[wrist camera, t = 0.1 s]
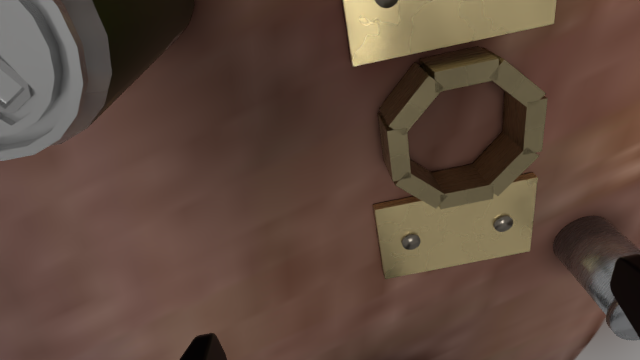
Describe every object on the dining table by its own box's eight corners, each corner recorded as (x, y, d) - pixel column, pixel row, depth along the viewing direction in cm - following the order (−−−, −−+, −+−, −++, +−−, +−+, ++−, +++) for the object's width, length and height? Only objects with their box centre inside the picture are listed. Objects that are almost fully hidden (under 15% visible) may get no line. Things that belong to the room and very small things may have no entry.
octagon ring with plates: (525, 245, 28) (544, 269, 26) (383, 273, 29) (391, 299, 27) (561, -125, 17) (598, -133, 15) (331, -73, 18) (336, -73, 16)
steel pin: (609, 257, 30) (683, 331, 24) (545, 269, 30) (605, 346, 24) (621, 206, 27) (707, 276, 22) (552, 219, 27) (620, 292, 22)
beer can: (222, -3, 19) (150, 73, 9) (143, 69, 20) (-1, 208, 10) (127, -119, 16) (-131, -203, 6) (44, -28, 18) (-279, 26, 8)
